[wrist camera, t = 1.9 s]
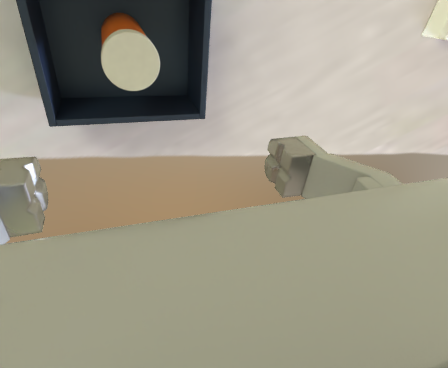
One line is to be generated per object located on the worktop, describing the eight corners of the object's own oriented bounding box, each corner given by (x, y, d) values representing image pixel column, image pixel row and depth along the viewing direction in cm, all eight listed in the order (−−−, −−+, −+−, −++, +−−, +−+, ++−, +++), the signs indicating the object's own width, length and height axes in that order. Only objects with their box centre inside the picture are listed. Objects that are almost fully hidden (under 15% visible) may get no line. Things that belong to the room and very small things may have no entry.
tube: (103, 56, 29) (105, 91, 22) (96, 10, 27) (96, 30, 19) (144, 57, 31) (161, 90, 23) (142, 12, 28) (159, 33, 21)
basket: (56, 102, 31) (49, 126, 26) (16, -63, 23) (-3, -69, 19) (191, 98, 35) (205, 118, 31) (195, -42, 28) (214, -42, 23)
